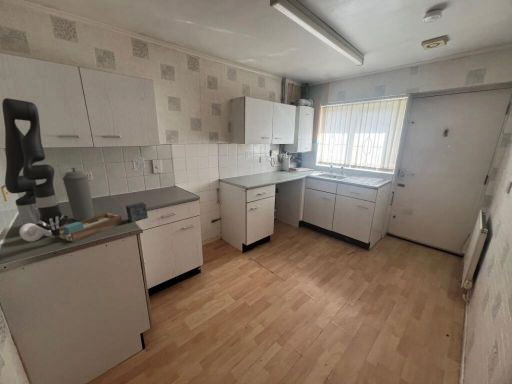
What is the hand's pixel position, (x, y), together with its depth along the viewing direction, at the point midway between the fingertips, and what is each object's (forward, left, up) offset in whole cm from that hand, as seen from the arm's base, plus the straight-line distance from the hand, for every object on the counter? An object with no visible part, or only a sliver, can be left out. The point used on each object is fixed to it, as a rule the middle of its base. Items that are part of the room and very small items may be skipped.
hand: (56, 235), depth 108 cm
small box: (+11, +39, -4) cm, 41 cm away
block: (0, +8, -1) cm, 8 cm away
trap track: (0, +17, -4) cm, 17 cm away
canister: (-24, +26, -4) cm, 36 cm away
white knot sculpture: (-15, -1, -4) cm, 16 cm away
